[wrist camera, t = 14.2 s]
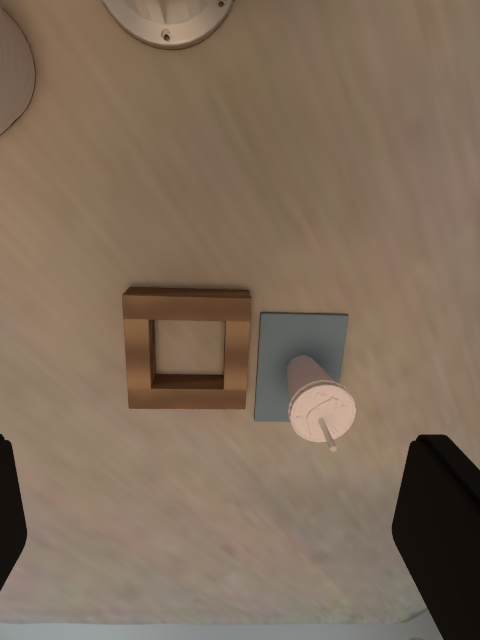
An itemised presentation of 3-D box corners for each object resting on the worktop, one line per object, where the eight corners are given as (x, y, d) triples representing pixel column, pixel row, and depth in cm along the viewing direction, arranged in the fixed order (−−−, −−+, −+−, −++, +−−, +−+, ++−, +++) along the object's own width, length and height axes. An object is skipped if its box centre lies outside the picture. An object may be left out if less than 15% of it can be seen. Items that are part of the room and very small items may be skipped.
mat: (260, 312, 43) (261, 313, 42) (346, 314, 43) (348, 315, 43) (254, 418, 47) (254, 421, 46) (332, 419, 48) (333, 421, 47)
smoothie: (265, 380, 45) (285, 458, 32) (292, 335, 43) (325, 398, 30) (310, 401, 46) (347, 485, 33) (338, 358, 44) (390, 428, 31)
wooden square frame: (129, 287, 41) (122, 295, 38) (248, 290, 42) (251, 298, 38) (135, 392, 45) (128, 408, 42) (243, 393, 46) (245, 409, 43)
